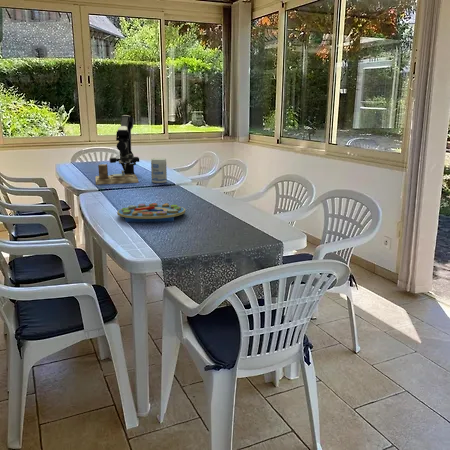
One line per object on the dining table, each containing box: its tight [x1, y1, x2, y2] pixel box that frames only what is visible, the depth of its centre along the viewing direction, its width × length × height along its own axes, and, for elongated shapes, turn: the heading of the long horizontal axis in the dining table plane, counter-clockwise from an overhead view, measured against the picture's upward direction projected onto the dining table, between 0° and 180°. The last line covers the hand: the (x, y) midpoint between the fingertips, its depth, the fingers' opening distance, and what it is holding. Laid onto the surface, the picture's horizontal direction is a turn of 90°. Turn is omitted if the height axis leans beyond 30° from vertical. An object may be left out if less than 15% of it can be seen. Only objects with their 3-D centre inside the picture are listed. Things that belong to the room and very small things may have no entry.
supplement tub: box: [150, 157, 168, 184], centre depth 279 cm, size 10×10×15 cm
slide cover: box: [112, 169, 125, 176], centre depth 291 cm, size 7×7×3 cm
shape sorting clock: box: [116, 202, 186, 223], centre depth 201 cm, size 31×30×6 cm
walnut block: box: [97, 163, 109, 179], centre depth 277 cm, size 4×4×10 cm
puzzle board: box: [95, 173, 139, 186], centre depth 285 cm, size 26×22×3 cm
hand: (125, 172), depth 292 cm, fingers closed
